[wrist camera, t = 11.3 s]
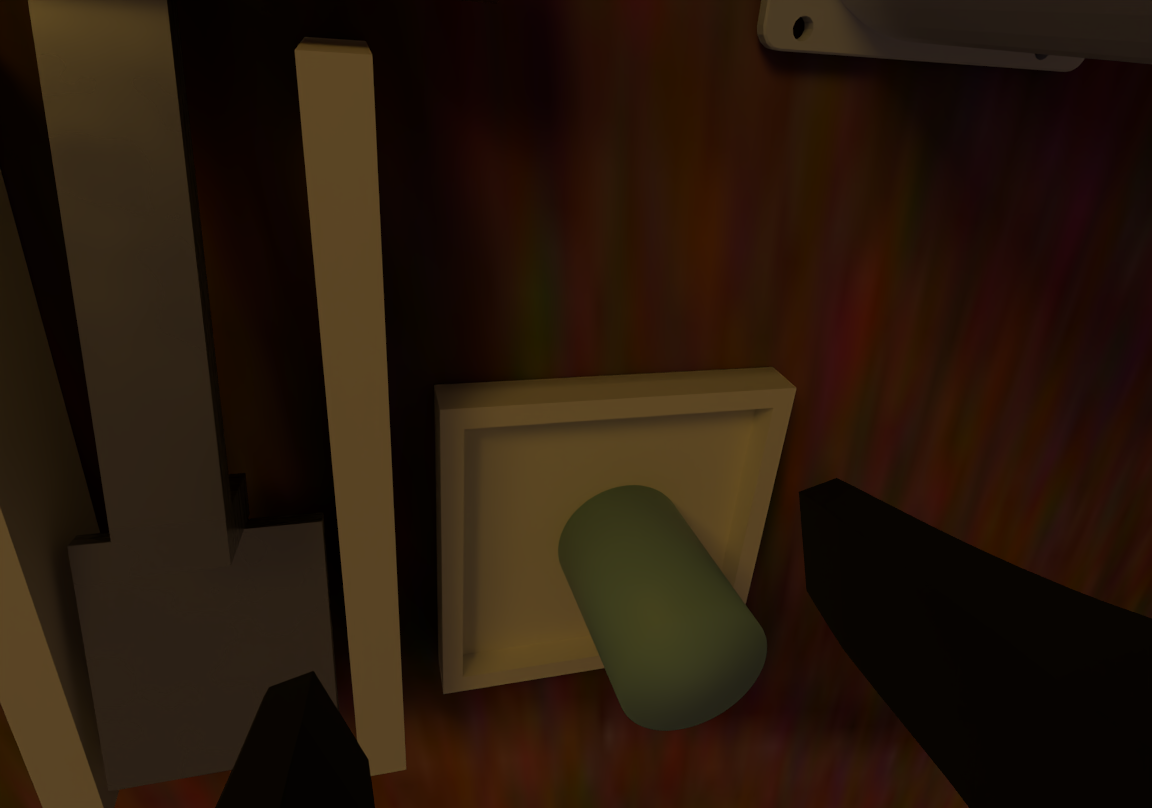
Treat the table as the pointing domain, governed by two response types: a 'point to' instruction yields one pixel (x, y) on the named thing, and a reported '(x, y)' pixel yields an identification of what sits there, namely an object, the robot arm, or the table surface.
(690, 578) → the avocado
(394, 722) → the beige h-shaped piece
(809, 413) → the table surface
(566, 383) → the tray
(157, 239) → the lever
